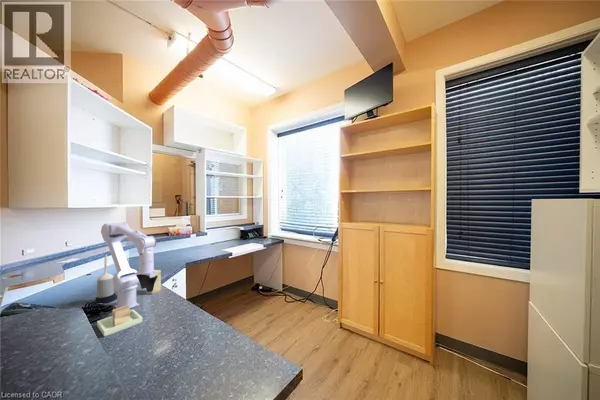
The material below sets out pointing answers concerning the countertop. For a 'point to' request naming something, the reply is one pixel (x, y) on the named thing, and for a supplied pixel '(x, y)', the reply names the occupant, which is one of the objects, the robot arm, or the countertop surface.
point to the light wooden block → (156, 283)
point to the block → (121, 315)
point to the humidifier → (105, 286)
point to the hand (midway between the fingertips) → (147, 289)
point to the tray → (109, 328)
